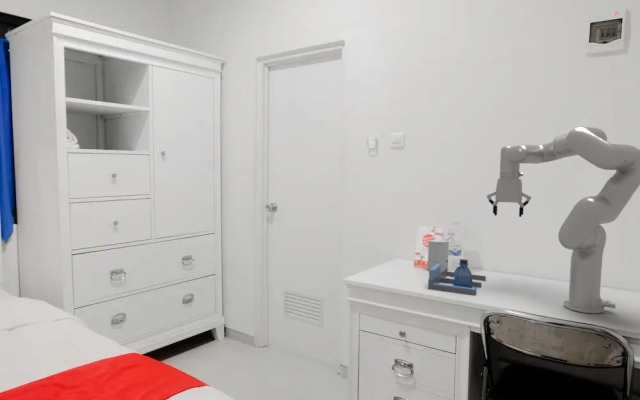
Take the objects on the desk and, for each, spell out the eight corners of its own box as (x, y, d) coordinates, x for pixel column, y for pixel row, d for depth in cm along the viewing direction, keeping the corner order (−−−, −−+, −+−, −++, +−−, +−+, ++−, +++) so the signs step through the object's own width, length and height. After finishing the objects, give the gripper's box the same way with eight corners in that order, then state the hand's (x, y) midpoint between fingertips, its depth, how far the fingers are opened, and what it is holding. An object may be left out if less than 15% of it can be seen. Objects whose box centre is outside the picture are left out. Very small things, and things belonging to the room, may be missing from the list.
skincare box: (435, 272, 207) (436, 242, 206) (427, 269, 213) (427, 240, 212) (448, 270, 211) (449, 240, 210) (439, 268, 217) (440, 239, 216)
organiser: (485, 280, 193) (486, 262, 193) (476, 295, 170) (476, 275, 169) (443, 275, 202) (443, 258, 202) (428, 288, 179) (428, 270, 178)
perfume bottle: (469, 286, 181) (470, 258, 181) (472, 290, 175) (473, 261, 174) (453, 286, 182) (454, 258, 181) (456, 290, 176) (457, 261, 175)
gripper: (532, 175, 180) (530, 216, 181) (488, 175, 188) (487, 213, 190) (531, 176, 174) (529, 218, 175) (486, 175, 182) (484, 215, 183)
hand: (507, 215), depth 182 cm, fingers open, 9 cm apart
